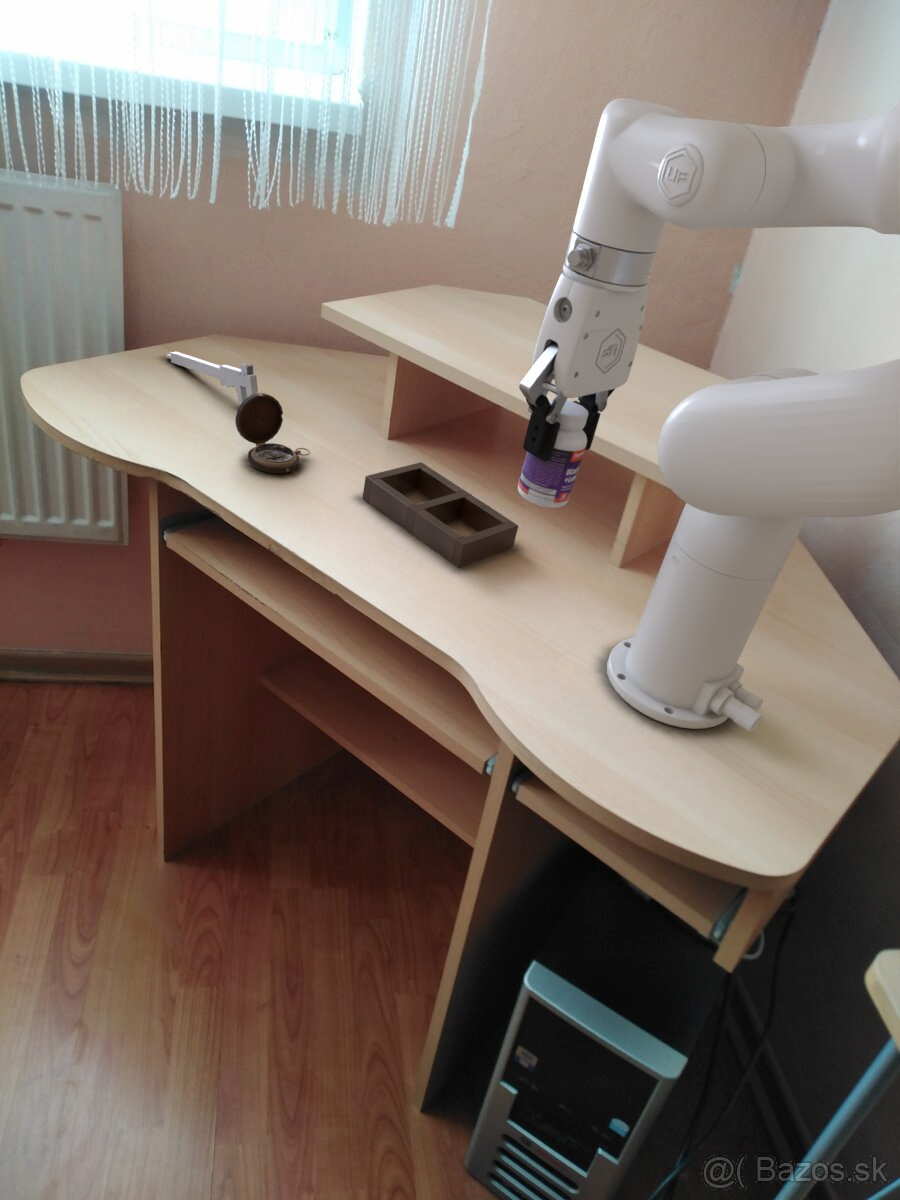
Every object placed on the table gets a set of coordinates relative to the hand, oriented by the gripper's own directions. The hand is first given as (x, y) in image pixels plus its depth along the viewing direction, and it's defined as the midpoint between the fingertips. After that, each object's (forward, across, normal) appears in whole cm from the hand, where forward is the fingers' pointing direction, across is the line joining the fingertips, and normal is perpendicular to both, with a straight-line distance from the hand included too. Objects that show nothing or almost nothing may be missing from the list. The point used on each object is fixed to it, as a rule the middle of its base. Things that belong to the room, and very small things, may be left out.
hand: (557, 447), depth 88 cm
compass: (+16, -8, +34) cm, 38 cm away
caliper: (+16, -4, +56) cm, 58 cm away
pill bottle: (+6, 0, 0) cm, 6 cm away
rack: (+16, 0, +14) cm, 21 cm away
